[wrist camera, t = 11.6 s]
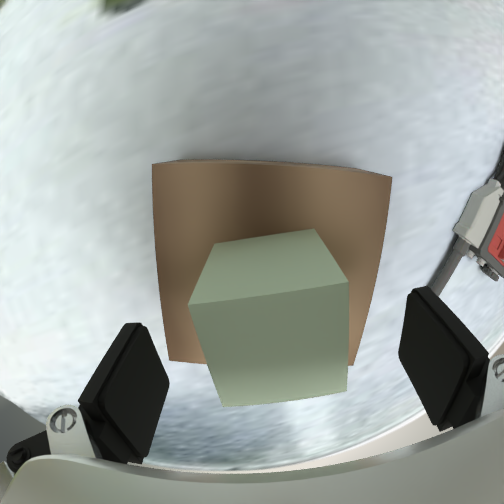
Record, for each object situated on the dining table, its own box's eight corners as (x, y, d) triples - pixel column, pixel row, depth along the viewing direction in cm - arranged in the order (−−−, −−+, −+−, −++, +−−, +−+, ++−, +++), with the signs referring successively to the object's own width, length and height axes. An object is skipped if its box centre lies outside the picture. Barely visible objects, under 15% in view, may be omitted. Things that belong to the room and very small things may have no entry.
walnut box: (354, 168, 19) (392, 177, 13) (333, 317, 23) (353, 365, 17) (181, 159, 19) (151, 164, 13) (187, 312, 23) (169, 360, 17)
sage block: (313, 228, 14) (348, 281, 8) (321, 313, 16) (346, 391, 10) (214, 243, 14) (187, 304, 9) (233, 326, 16) (223, 406, 10)
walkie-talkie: (494, 116, 16) (403, 306, 22) (527, 117, 12) (425, 335, 18) (534, 170, 17) (454, 331, 24) (562, 177, 13) (475, 356, 20)
